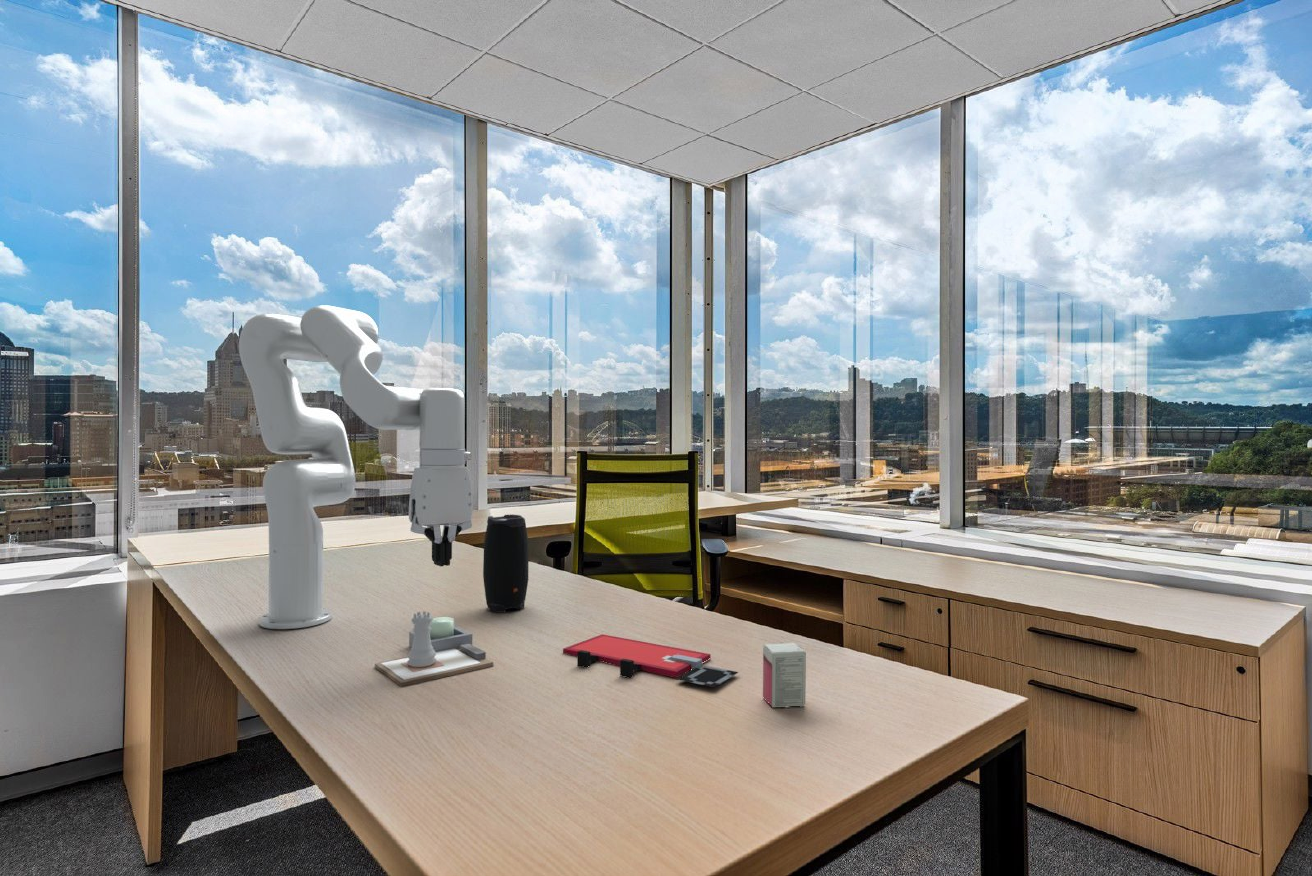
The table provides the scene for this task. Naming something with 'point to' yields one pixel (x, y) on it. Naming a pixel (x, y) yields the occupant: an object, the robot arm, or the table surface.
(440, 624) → the button
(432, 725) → the table surface
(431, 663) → the rook chess piece
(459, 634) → the button housing
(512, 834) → the table surface
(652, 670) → the red board with handle
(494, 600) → the portable speaker
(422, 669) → the clipboard
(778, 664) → the small box
